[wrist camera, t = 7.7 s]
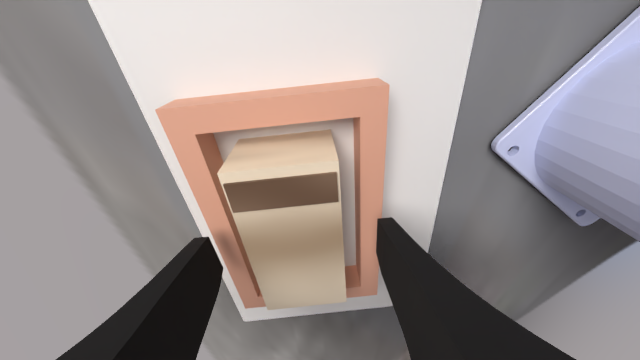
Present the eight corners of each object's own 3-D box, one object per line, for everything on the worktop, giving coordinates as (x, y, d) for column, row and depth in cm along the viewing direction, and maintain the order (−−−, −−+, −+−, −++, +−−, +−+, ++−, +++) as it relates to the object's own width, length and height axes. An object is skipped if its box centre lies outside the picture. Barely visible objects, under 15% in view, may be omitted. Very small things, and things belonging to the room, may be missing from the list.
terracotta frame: (175, 99, 9) (154, 109, 8) (377, 77, 9) (389, 84, 8) (250, 286, 16) (245, 308, 14) (371, 273, 16) (377, 294, 14)
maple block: (339, 255, 14) (347, 303, 12) (274, 261, 15) (267, 312, 12) (330, 129, 10) (338, 162, 8) (238, 138, 10) (216, 175, 8)
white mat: (580, -517, 4) (602, -563, 4) (414, 298, 18) (417, 303, 18) (-110, -438, 4) (-145, -478, 4) (245, 316, 18) (244, 321, 18)
